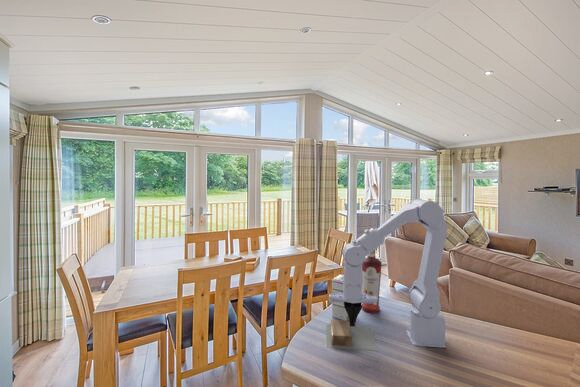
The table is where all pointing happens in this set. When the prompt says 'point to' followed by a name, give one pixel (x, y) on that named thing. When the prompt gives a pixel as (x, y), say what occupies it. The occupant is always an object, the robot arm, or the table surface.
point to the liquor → (371, 280)
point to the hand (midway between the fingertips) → (352, 324)
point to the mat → (356, 339)
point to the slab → (341, 333)
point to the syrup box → (338, 307)
